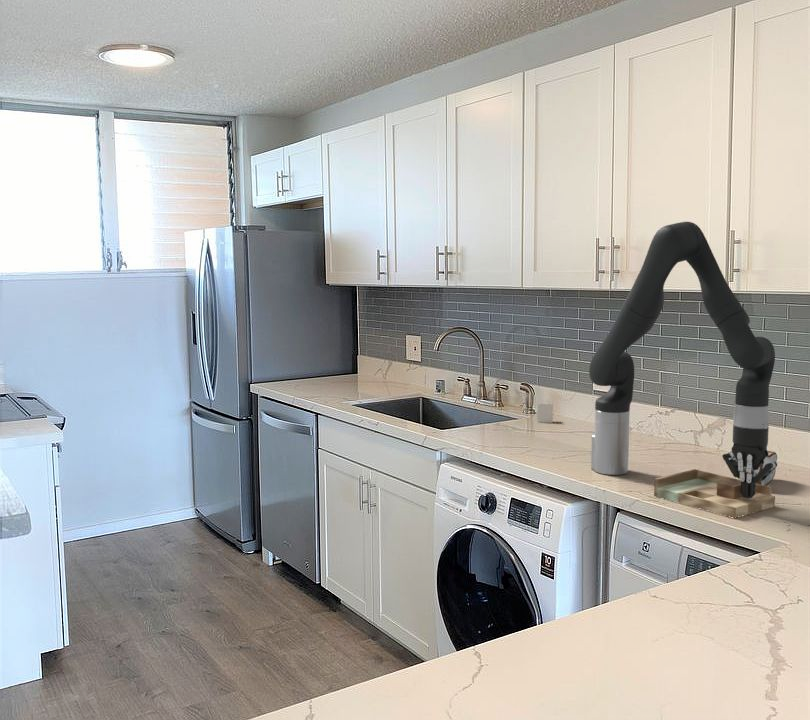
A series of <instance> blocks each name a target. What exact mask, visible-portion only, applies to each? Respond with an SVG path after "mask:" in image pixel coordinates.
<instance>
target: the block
mask: <svg viewBox="0 0 810 720" xmlns="http://www.w3.org/2000/svg"><path fill="white" fill-rule="evenodd" d="M717 495H718V496H722V497H726V498H730V499H737V498H741V497H742V494H741V483H739V482H735V481H731V480H726V481H722V482H718V483H717Z"/></svg>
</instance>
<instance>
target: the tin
mask: <svg viewBox="0 0 810 720" xmlns="http://www.w3.org/2000/svg"><path fill="white" fill-rule="evenodd" d="M767 452H768V457H769V458H770V460H771V461H772V462H776V463H777V460H778V454H777V452H775V451H772V450H771V451H770V450H767ZM763 464H764V462H763ZM763 464H762V465H761V466H760V471H761V470H762V469H763V468H764V467H763ZM776 468H777V467H776ZM776 468H775V469H774V470H773V471H772V472H771V473H770V474H769V475H768V476H767V477H766V478H765V479H764V480H763V481H759V482H756V484H760V485H764V486H767V485H769V484H771V483H772V481H773V479H774V477H775V476H776V475H775V474H776ZM760 471H759V472H760ZM759 472H758V473H759Z"/></svg>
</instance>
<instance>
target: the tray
mask: <svg viewBox="0 0 810 720" xmlns="http://www.w3.org/2000/svg"><path fill="white" fill-rule="evenodd" d="M726 480H731V481H735V482H739V483H741V481H740V479H739V478H735V477H729V476H727V475H726V476H725V475H721V474H718V473H712V472H708V471H704V470H700V469H696V468H695V469H690V470H687V471H681V472H678V473H677V472H676V473H673V474H669V475H663V476H660V477H655V478H654V484H653V486H654V488H653V489H654V490H653V497H654V496H656V497H655V498H658V497H660V498H659V499H661V498H664V499H663V500H665V499H667V500H666V501H669V500H671V501H670V502H672V501H675V502H674V503H676V502H679V503H682V504H681V505H683V504H685V505H684V506H686V505H690V506H693V507H692V508H694V507H697V508H701V509H704V510H709V511H712V512H715V513H718V514H717V515H719V514H722V515H726V516H730V517H733V518H735V517H738V516H742V515H745V516H747V515H746V514H748V515H750V514H749V513H752V514H754V513H753V512H755V513H758V512H760V511H761V510H762V511H764V510H769V509H771V508H774V507H775V502H776V497H775V495H772V487H771V486H769V485H768V486H767V485H766V486H764V485H760V484H756V487H755V495H754V496H753V497H752V498H749V499H748V498H744V497H741V498H737V499H730V498H726V497H722V496H718V495H717V483H718V482H722V481H726ZM679 503H678V504H679ZM690 506H689V507H690ZM697 508H696V509H697ZM701 509H700V510H701ZM704 510H703V511H704ZM715 513H714V514H715ZM722 515H721V516H722ZM726 516H725V517H726ZM742 517H743V516H742ZM733 518H732V519H733ZM738 518H739V517H738ZM735 519H736V518H735Z"/></svg>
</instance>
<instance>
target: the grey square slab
mask: <svg viewBox="0 0 810 720" xmlns="http://www.w3.org/2000/svg"><path fill="white" fill-rule="evenodd" d="M553 405H554V404H553V403H537V412H536V422H537V423H544V424H553V422H554V421H553V417H554V416H557V415H558V412H554V406H553Z"/></svg>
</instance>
